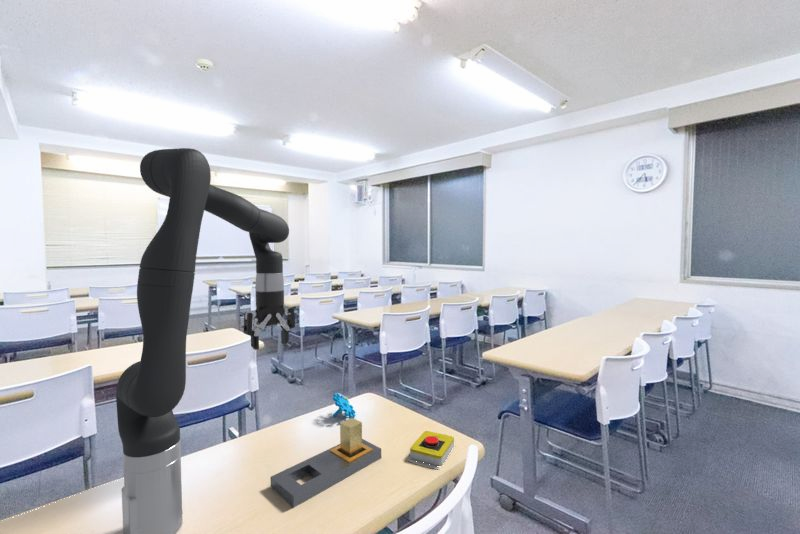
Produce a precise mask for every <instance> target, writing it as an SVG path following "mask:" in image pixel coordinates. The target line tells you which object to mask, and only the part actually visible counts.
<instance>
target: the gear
mask: <svg viewBox="0 0 800 534" xmlns="http://www.w3.org/2000/svg"><path fill="white" fill-rule="evenodd" d="M332 401H333V402H334V405H335V406H336V407H338V409H337V410H336V411H335V412H334V413H333V414H332V417H333V418H336V417H337V416H338V415H339V414H340V413H343V412H344V413H343V415H345V417H348V418H349V419H350V418H353V417H354V418H355V417H356V411H355V410H354V406H353V405H351V404H350V401H349V399H348V397H346V398H345V396H344V395H341V394H340V393H339V392H336V393H334V394H332Z"/></svg>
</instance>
